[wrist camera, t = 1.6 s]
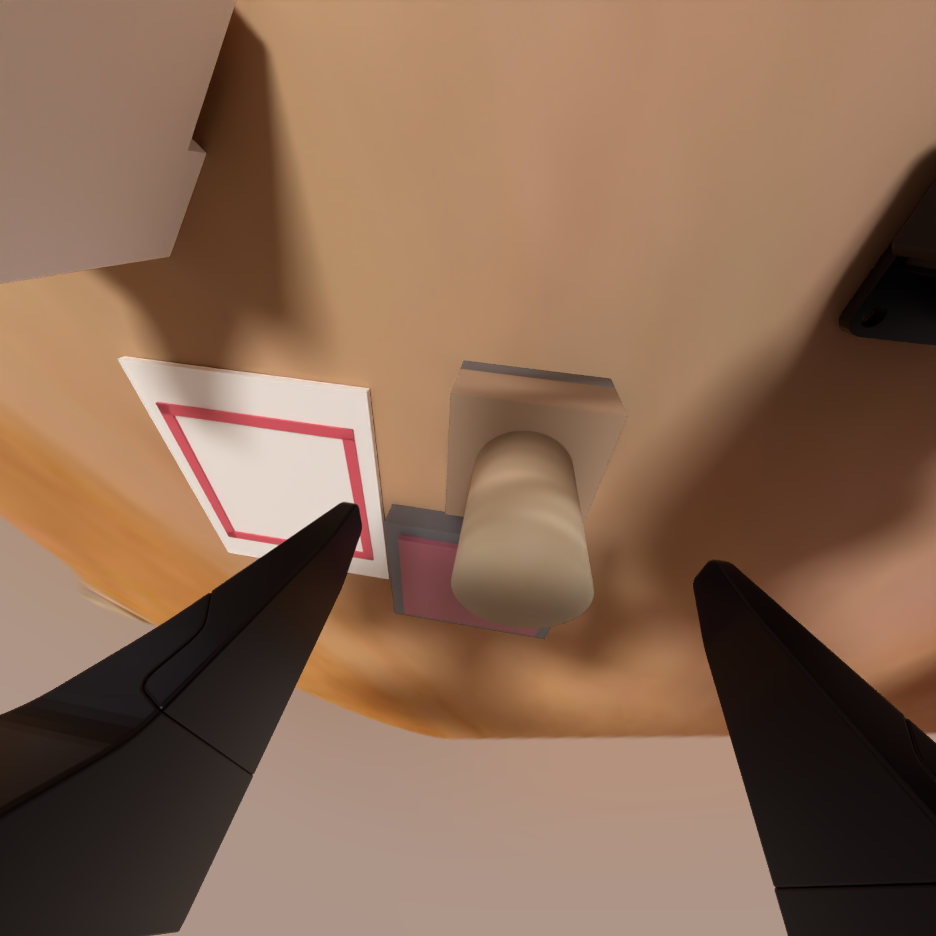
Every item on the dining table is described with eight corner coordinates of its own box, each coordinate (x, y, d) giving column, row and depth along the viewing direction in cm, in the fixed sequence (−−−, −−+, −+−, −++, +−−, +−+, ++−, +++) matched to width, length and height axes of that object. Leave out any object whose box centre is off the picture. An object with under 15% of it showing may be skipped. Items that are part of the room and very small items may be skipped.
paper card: (369, 388, 13) (365, 393, 13) (390, 575, 20) (388, 581, 20) (124, 356, 14) (114, 359, 13) (231, 548, 21) (227, 554, 21)
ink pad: (579, 532, 16) (583, 558, 15) (543, 619, 21) (544, 644, 20) (392, 504, 17) (382, 527, 16) (400, 595, 22) (393, 617, 20)
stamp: (610, 378, 12) (683, 537, 6) (571, 488, 15) (597, 658, 9) (463, 359, 12) (409, 495, 6) (456, 471, 15) (415, 627, 10)
